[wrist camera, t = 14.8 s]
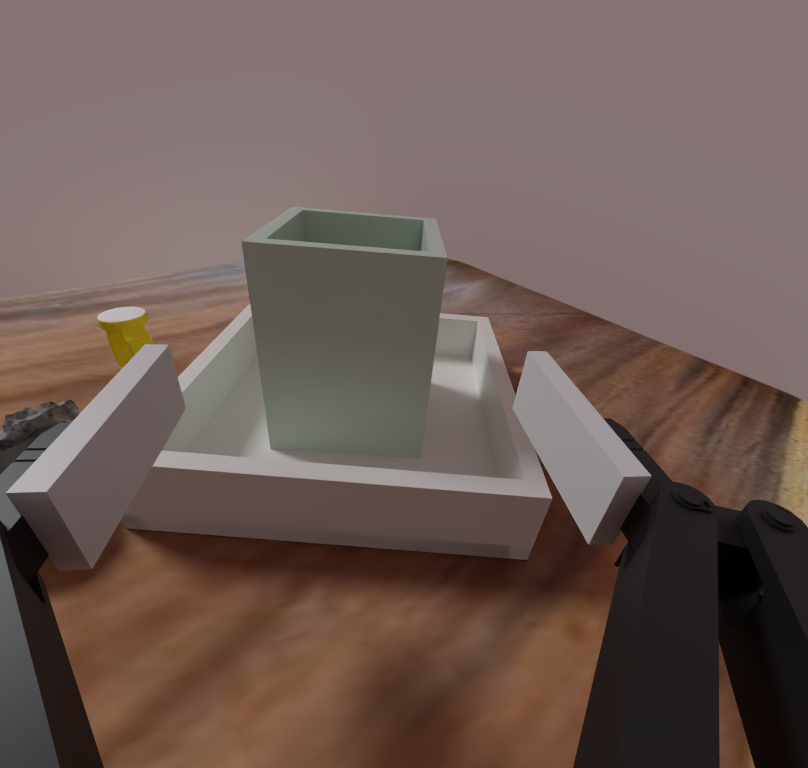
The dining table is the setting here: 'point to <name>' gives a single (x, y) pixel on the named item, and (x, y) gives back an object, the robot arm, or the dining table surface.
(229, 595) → the dining table surface
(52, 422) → the egg carton
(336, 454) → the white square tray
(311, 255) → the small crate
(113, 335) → the watch
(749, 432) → the dining table surface
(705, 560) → the robot arm
